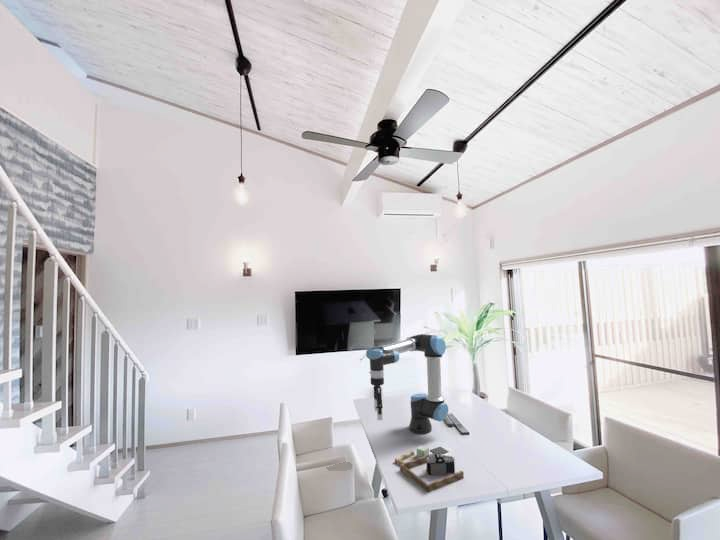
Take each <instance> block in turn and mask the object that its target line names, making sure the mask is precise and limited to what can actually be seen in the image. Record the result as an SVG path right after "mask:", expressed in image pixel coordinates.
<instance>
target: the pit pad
mask: <svg viewBox="0 0 720 540" xmlns="http://www.w3.org/2000/svg"><path fill="white" fill-rule="evenodd" d="M429 452H431V453H432V454H433V453H434V454H436V453H440V454H442V455H445V454H447V453H449V450H447V449H445V448H443V447H441V446H437V447H434V448H432V449H429Z"/></svg>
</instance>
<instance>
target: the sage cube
mask: <svg viewBox="0 0 720 540" xmlns="http://www.w3.org/2000/svg"><path fill="white" fill-rule="evenodd" d="M427 455H430V448H429V446H425V445H419V446H418V447H417V448H416V459H418V458H421V457H424V456H427Z"/></svg>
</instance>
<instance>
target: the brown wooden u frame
mask: <svg viewBox="0 0 720 540" xmlns="http://www.w3.org/2000/svg"><path fill="white" fill-rule="evenodd" d="M433 454H434V453H433V452H432V453H429V455H427V456H424V457H421V458H416V459H413V460H410V461H406V462H405V463H404V464H401V465H399V471H400V472H401V473H403V474H404V475H405V476H407V478H409V479H410V480H411V481H412V482H414V483H415V484H417V485H418V486H419V487H420V488H421V489H423V490H424V491H425V492H427V493H430V492H432V491H435V490H438V489H441V488H443V487H445V486H447V485H450V484H452V483H454V482H457V481H460V480H461V479H464V471H463V470H459V471H457V472H455V474H450V475H446V476H445V477H442V478H440V479H437V480H433V481H432V482H429V483H427V482H426V481H425V480H424V479H422V478H421V477H419V475H417V474H416V473H414V472H413V471H411V469H413V468H416V467H419V466H421V465H425V464H427V463H426V461H425V460H426V458H427V457H429V456H431V455H433Z"/></svg>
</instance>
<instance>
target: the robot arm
mask: <svg viewBox="0 0 720 540" xmlns="http://www.w3.org/2000/svg"><path fill="white" fill-rule="evenodd" d="M446 349H447V345H446V341H445V339H443V337H442V336H438V335H436V334H433V335H432V334H425V333H424V334H423V333H421V334H415V335H413V336H409V337H407V338H405V339H404V340H400V341H396V342H393V343H388V344H385V345H381V346H377V347H371V346H370V347H368V348H367V349H366V351H365V355H366V357H367V359H368V360H369V366H370V367H369V374H370V384H371V385H372V386H373V399H374V400H373V403H374V404H373V405H374V412H376V416H377V418H376V421H383V407H384V406H383V399H382V387H381V386H383V385H384V384H385V379H384V376H385V373H384V371H385V369H384V366H386V365H391V364H395V363H398V362H399V360H400V354H404V353H406V352H414V351H415V352H423V353H424V354H423V355H424V357H425V358H426V370H427V371H426V372H427V393H415V394H412V395H411V396H410V413H411V414H410V415H411V416H410V417H411V418H410V421H409V425H408V427H409V428H408V429H409V431H410V432H412V433H414V434H419V435H421V434H422V435H424V434H429V433H431V432H432V430H433V428H432V427H433V426H432V423H431V421H430V419H431V420H433V421H438V422H442V421H444V420H445V419H446V418H447V416H448V413H449V406H448V404H447V403H445V398H444V397H443V396H442V376H441V369H442V368H441V358H443V355H444V354H445V352H446Z"/></svg>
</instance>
